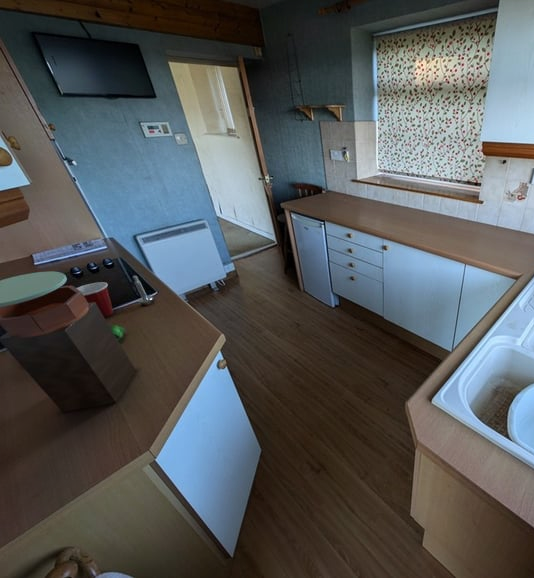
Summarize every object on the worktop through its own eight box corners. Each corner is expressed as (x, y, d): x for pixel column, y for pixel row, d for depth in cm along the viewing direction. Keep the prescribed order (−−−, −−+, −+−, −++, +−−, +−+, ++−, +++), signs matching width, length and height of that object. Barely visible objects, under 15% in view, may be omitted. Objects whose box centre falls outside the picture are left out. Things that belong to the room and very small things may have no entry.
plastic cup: (120, 303, 119) (106, 277, 113) (122, 315, 112) (107, 288, 106) (85, 313, 113) (68, 286, 107) (84, 326, 106) (66, 299, 100)
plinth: (56, 415, 75) (-27, 323, 60) (87, 376, 86) (24, 289, 71) (118, 404, 78) (54, 314, 63) (140, 367, 90) (90, 283, 74)
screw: (141, 308, 116) (139, 303, 119) (155, 303, 119) (153, 298, 122) (126, 279, 109) (125, 275, 112) (142, 276, 112) (141, 271, 115)
